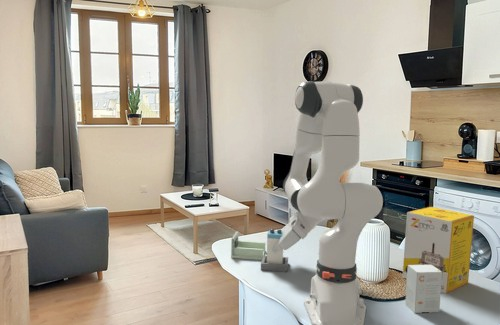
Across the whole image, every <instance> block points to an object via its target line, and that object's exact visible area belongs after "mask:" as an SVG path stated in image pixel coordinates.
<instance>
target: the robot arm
mask: <svg viewBox="0 0 500 325" xmlns="http://www.w3.org/2000/svg"><path fill="white" fill-rule="evenodd" d="M294 101H295V102H294V104H295V107H296V109H297V111H298V112H299V115H298V121H297V126H296V132H295V142H294V150H293V155H292V160H291V165H290V169H289V172H288V173H287V175H286V177H285V178H284V180H283V183H282V189H283V192H284V193H285V195H286V197H287V199H288V201H289V203H290V205H291V206H292V208H294V209H295V210H296V212H295V213H293V215H292V216H291V217H290V218H289V222H288V223H287V224H286V225H285V226H283V227H282V229H281V230H282V231H284V232H283V235H282V236H281V237H280V240H279V243H278V245H276V246H275V247H274V248H273V249H272V251H273V252H274V253H276V252H277V251H279V250H281V249H282V248H283V251H286V250H289V249H290V248H292V246H294V245H296V244H297V243H299V241H300V240H304V239H305V238H306V237H307V236H308V234H309V233H311V231H313V230H314V229H315V228H316V226H317V225H318V224H320V223H321V222H323V221H324V220H337V222H336V224H334V226H332V227H331V228H329V229H327V230H325V231H324V232H323V233H322V235H321V236H320V238H319V244H318V246H319V247H318V260H316V274H315V275H313V277H311V283H310V295H309V297H310V298H306V299H304V301H303V305H304V307H305V310H306V313H307V315H308V317H309V320H310V322H311V325H365V321H366V320H365V319H366V312H367V311H366V310H367V308H366V307H367V306H366V305H365V304H364V299H363V298H361V297H360V295H362V294H363V290H362V289H361V287H360V286H361V284H360V283H361V282H360V280H359V279H358V278H357V272H358V271H357V270H358V268H357V263H356V258H357V250H358V249H357V247H358V241H359V238H360V235H361V233H362V232H363V230H364V229H365V227H366V226H367V225H368V224H369V223H370V221H372V219H374V218H375V217H377V216H378V215H379V214H380V212H381V211H382V209H383V205H384V204H383V203H384V198H383V195H382V193H381V191H380V190H379V188H378V187H377V186H376V185H373V184H368V183H364V182H340V180H341V177H342V176H343V175H344V173H346V172H347V171H350V170H351V169H353V168H355V167H356V166H357V165H358V163H359V161H360V135H361V134H360V119H359V113H360V112H361V110H362V107H363V103H364V96H363V92H362V90H361V89H360V88H359V87H358V86H357V85H355V84H354V85H353V84H349V83H348V84H344V83H341V82H340V83H338V82H332V81H314V80H309V81H308V80H307V81H304V82H301V83H300V84H299V85H298V86H297V88H296V91H295V95H294ZM319 152H321V155H320V161H319V165H318V168H317V170H316V172H315V173H314V175H313V176H312V177H311V178H310V180H309V181H308V178H307V172H308V171H307V170H308V168H309V163H310V159H311V156H312V155H314V154H317V153H319Z"/></svg>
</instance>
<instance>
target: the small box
mask: <svg viewBox="0 0 500 325" xmlns="http://www.w3.org/2000/svg"><path fill="white" fill-rule="evenodd" d="M441 281H442V271H440V270H439V269H437V268H436V267H434V266H433V265H408V269H407V279H406V286H405V287H406V288H405V300H404V301H405V303H404V304H405V306H406V307H408V308H409V309H410V310H411V311H412V312H413V313H414V314H420V313H422V312H429V313H440V304H441V296H442V295H441V294H442V292H441Z"/></svg>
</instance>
